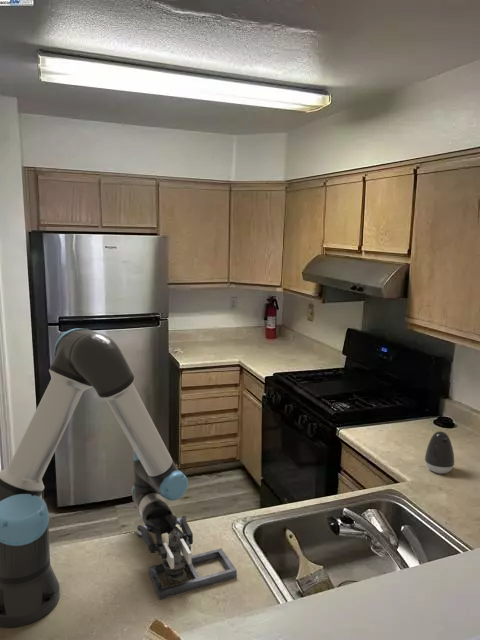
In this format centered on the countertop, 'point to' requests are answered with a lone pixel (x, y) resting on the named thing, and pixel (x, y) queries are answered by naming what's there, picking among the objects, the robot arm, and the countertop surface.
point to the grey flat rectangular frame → (193, 575)
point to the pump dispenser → (440, 453)
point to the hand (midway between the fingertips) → (181, 560)
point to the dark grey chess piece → (175, 559)
